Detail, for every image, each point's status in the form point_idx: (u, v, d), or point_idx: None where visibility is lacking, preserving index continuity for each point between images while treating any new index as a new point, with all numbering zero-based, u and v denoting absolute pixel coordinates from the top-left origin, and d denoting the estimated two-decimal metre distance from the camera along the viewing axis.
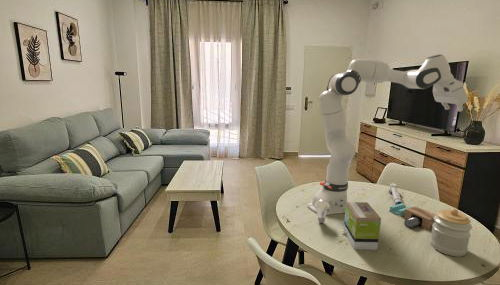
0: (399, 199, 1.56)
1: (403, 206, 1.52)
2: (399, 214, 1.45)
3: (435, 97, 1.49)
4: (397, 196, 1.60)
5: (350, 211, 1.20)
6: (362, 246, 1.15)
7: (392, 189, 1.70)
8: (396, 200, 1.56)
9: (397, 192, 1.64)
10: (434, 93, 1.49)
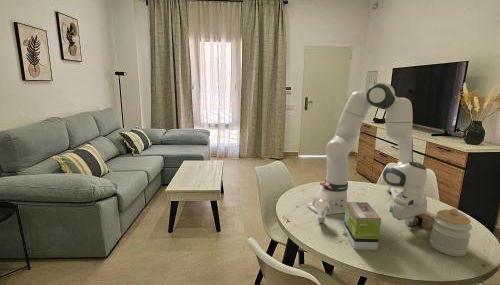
0: None
1: None
2: None
3: None
4: None
5: (350, 211, 1.20)
6: (362, 246, 1.15)
7: (391, 189, 1.69)
8: None
9: (396, 192, 1.64)
10: None
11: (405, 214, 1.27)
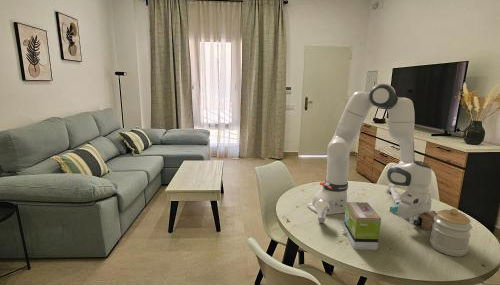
0: None
1: None
2: None
3: None
4: (397, 196, 1.59)
5: (350, 211, 1.20)
6: (362, 246, 1.15)
7: (391, 189, 1.69)
8: (397, 200, 1.56)
9: (396, 192, 1.64)
10: None
11: (410, 213, 1.29)
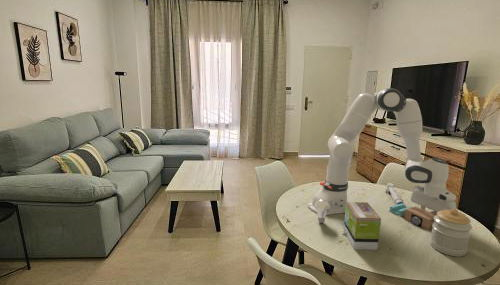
0: (400, 199, 1.56)
1: (403, 206, 1.52)
2: (399, 214, 1.45)
3: (413, 197, 1.46)
4: (397, 196, 1.59)
5: (350, 211, 1.20)
6: (362, 246, 1.15)
7: (390, 189, 1.69)
8: (397, 200, 1.56)
9: (396, 192, 1.64)
10: (415, 193, 1.45)
11: None
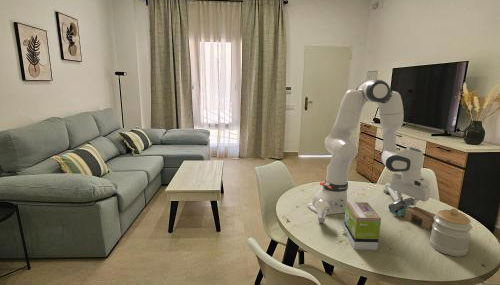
0: None
1: None
2: (399, 214, 1.45)
3: (392, 184, 1.55)
4: (397, 196, 1.59)
5: (350, 211, 1.20)
6: (362, 246, 1.15)
7: (389, 189, 1.69)
8: None
9: (395, 192, 1.64)
10: (393, 180, 1.54)
11: None
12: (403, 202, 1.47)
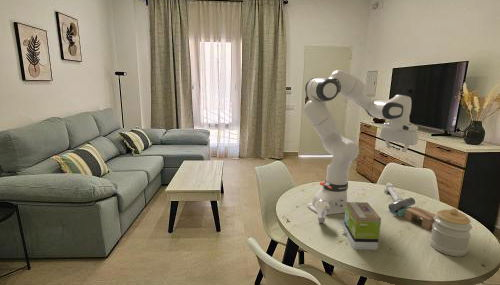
0: (401, 199, 1.56)
1: None
2: (399, 214, 1.45)
3: (382, 134, 1.59)
4: (398, 196, 1.59)
5: (350, 211, 1.20)
6: (362, 246, 1.15)
7: (390, 189, 1.69)
8: (398, 200, 1.56)
9: (396, 192, 1.64)
10: (383, 130, 1.58)
11: None
12: (403, 202, 1.47)
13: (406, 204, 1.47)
